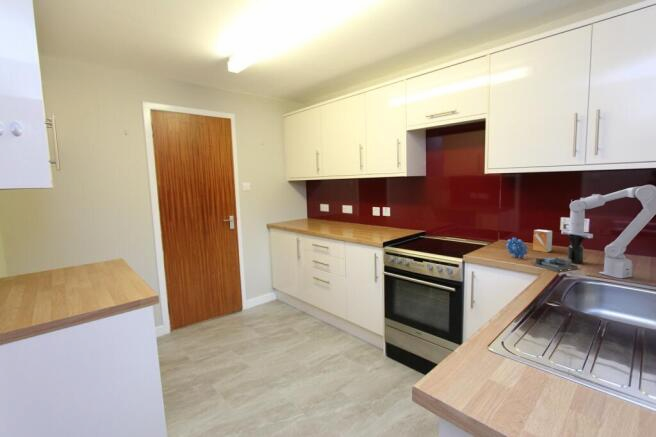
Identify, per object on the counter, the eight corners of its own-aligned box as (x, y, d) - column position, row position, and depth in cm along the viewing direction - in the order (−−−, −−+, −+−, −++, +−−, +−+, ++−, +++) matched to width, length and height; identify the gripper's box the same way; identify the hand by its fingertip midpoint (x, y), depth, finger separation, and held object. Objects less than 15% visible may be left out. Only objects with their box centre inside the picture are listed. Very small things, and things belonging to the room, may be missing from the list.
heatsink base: (577, 268, 163) (578, 260, 162) (556, 271, 159) (557, 263, 159) (552, 262, 176) (552, 254, 176) (532, 264, 173) (532, 257, 172)
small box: (532, 250, 204) (533, 230, 202) (538, 248, 207) (539, 229, 205) (546, 252, 197) (547, 231, 195) (551, 251, 200) (552, 230, 198)
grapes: (502, 257, 190) (503, 237, 189) (507, 255, 195) (507, 236, 193) (524, 260, 181) (525, 240, 180) (528, 258, 186) (529, 238, 184)
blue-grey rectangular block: (555, 264, 167) (556, 258, 167) (549, 265, 166) (549, 259, 166) (543, 261, 174) (544, 256, 173) (537, 262, 173) (537, 256, 172)
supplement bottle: (579, 260, 176) (580, 239, 175) (585, 264, 170) (586, 242, 168) (565, 260, 178) (566, 239, 177) (570, 263, 172) (571, 242, 170)
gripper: (598, 224, 155) (596, 251, 156) (568, 221, 168) (567, 246, 170) (587, 225, 153) (585, 253, 154) (558, 222, 167) (557, 247, 168)
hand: (575, 249), depth 162 cm, fingers closed
